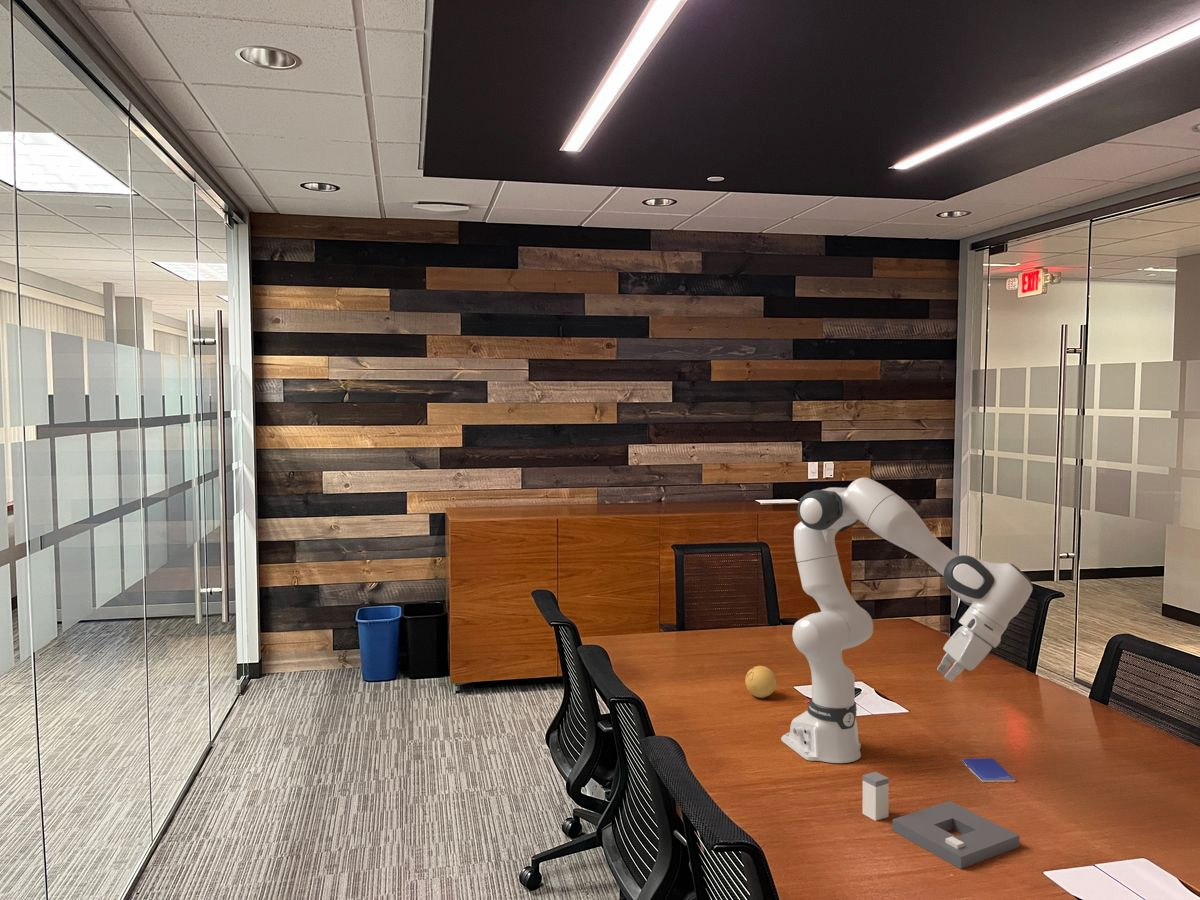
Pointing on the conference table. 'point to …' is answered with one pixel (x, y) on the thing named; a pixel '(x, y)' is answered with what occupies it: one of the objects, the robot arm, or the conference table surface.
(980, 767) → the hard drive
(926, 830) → the socket plate
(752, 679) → the stress ball
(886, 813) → the plug
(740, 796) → the conference table surface
